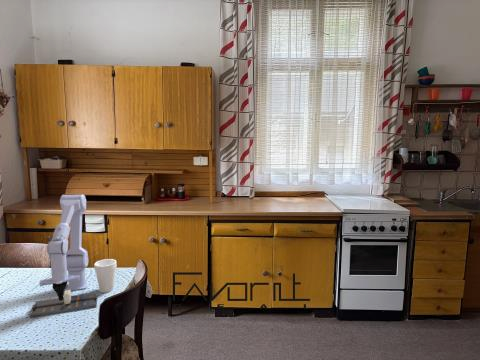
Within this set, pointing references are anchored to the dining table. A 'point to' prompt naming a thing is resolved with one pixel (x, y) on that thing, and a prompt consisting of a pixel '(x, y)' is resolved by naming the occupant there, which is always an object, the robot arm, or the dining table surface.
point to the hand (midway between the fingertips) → (61, 299)
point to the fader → (67, 296)
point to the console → (64, 305)
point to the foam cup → (106, 274)
